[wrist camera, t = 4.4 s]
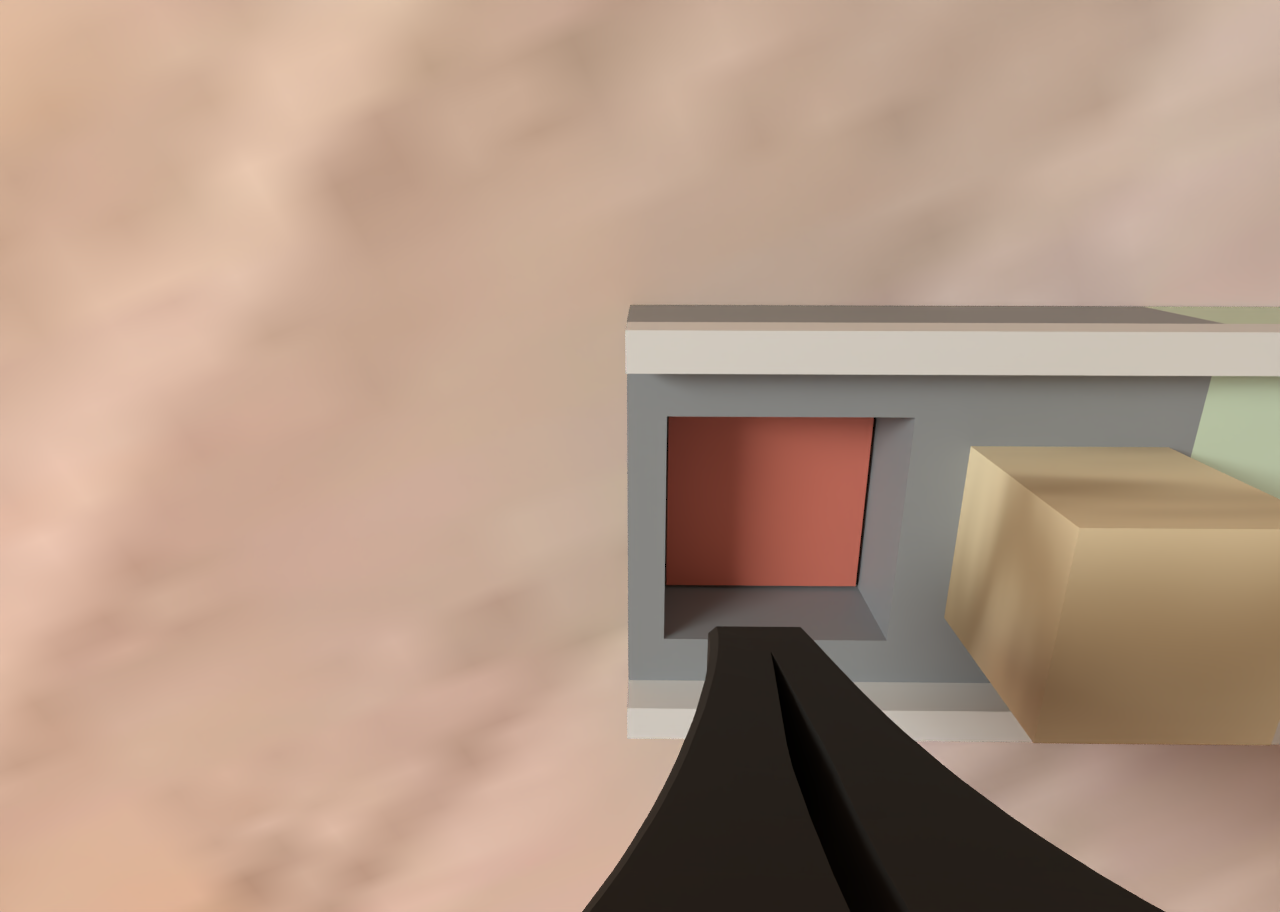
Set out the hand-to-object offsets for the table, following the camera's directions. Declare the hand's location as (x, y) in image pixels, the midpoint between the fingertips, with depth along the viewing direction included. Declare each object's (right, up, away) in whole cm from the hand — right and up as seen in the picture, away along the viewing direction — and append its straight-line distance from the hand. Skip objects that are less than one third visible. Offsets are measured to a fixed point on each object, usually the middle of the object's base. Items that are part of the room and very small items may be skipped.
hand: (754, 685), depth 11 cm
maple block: (+7, +2, +5) cm, 9 cm away
